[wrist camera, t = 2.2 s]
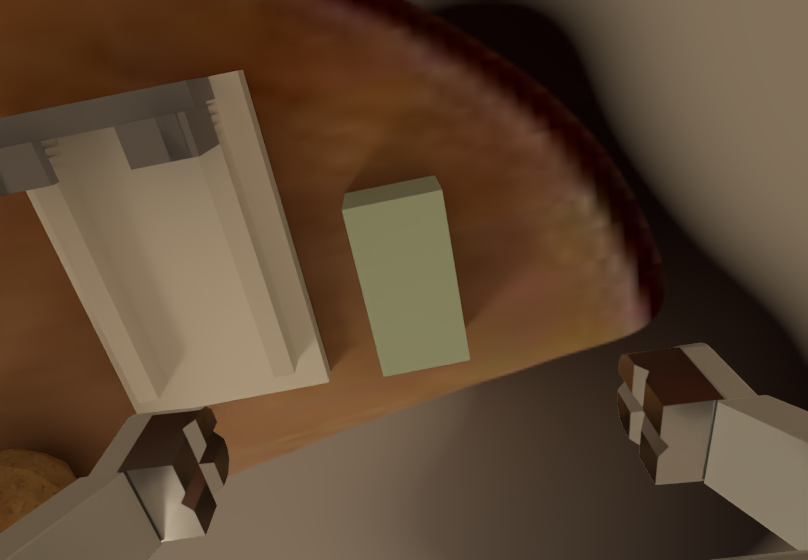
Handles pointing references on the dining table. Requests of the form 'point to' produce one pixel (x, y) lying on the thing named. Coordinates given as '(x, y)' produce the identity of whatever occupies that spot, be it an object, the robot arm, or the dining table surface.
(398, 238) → the green block
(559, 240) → the dining table surface
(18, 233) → the dining table surface
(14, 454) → the potato
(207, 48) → the dining table surface
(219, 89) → the beige shallow tray
